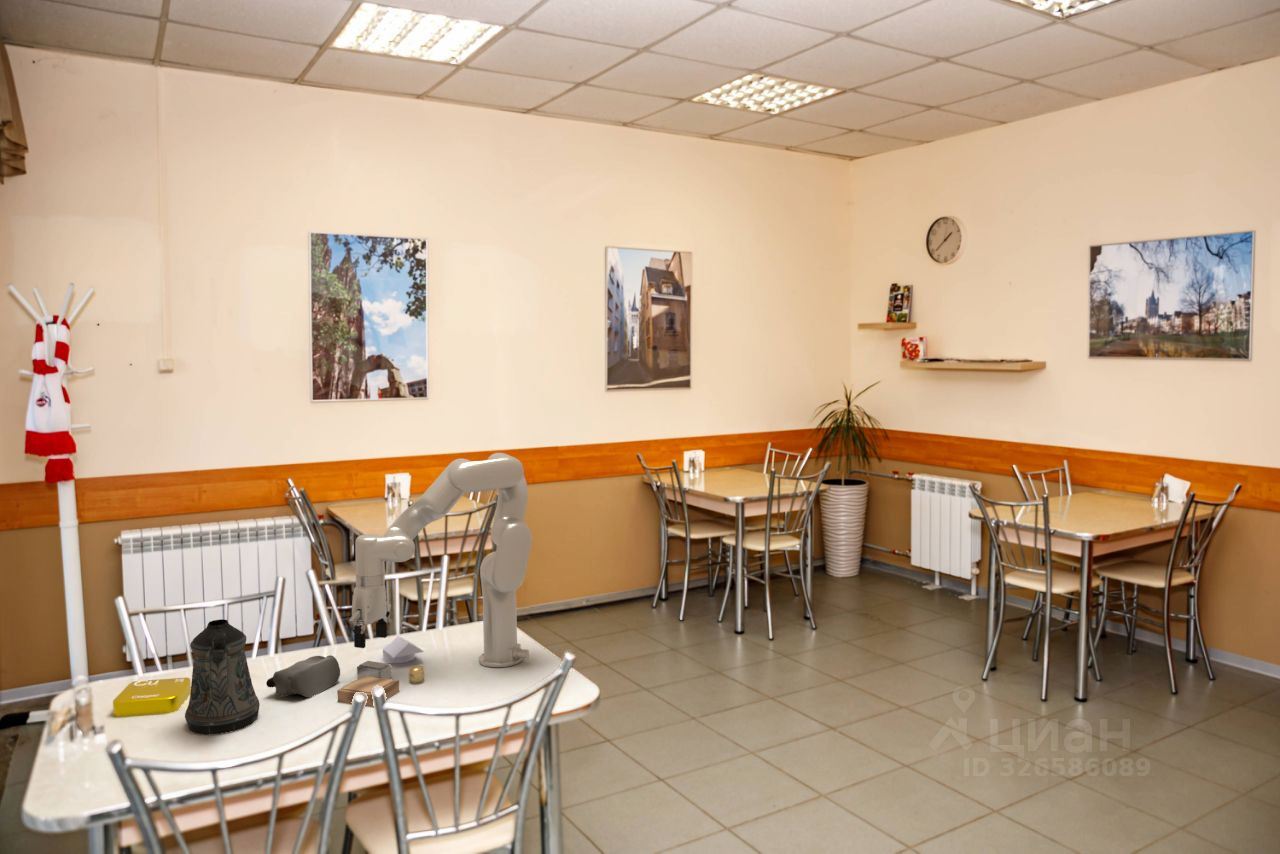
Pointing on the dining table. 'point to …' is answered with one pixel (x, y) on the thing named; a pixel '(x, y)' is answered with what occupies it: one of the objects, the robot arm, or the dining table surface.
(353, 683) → the stand
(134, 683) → the element tile
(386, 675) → the block
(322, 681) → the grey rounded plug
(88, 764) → the dining table surface
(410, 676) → the bushing
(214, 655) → the ornate dark jug
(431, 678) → the dining table surface
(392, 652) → the wedge on round base
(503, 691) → the dining table surface
